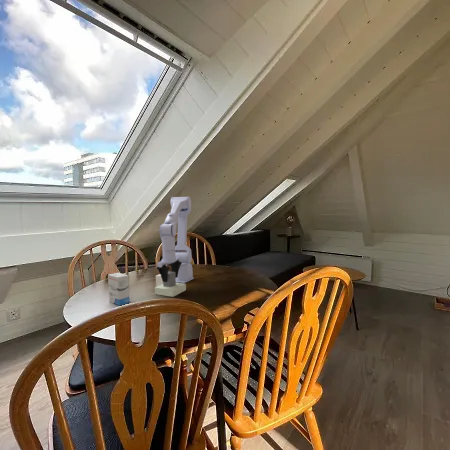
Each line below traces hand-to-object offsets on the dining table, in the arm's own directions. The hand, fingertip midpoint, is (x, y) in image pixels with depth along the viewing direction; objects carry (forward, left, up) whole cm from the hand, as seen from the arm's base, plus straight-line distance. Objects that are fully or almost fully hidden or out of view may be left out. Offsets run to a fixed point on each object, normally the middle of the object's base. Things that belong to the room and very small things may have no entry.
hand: (170, 279), depth 130 cm
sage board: (0, 0, -6) cm, 6 cm away
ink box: (+19, -12, -6) cm, 23 cm away
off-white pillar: (-5, -9, -6) cm, 12 cm away
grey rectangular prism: (0, 0, -3) cm, 3 cm away
